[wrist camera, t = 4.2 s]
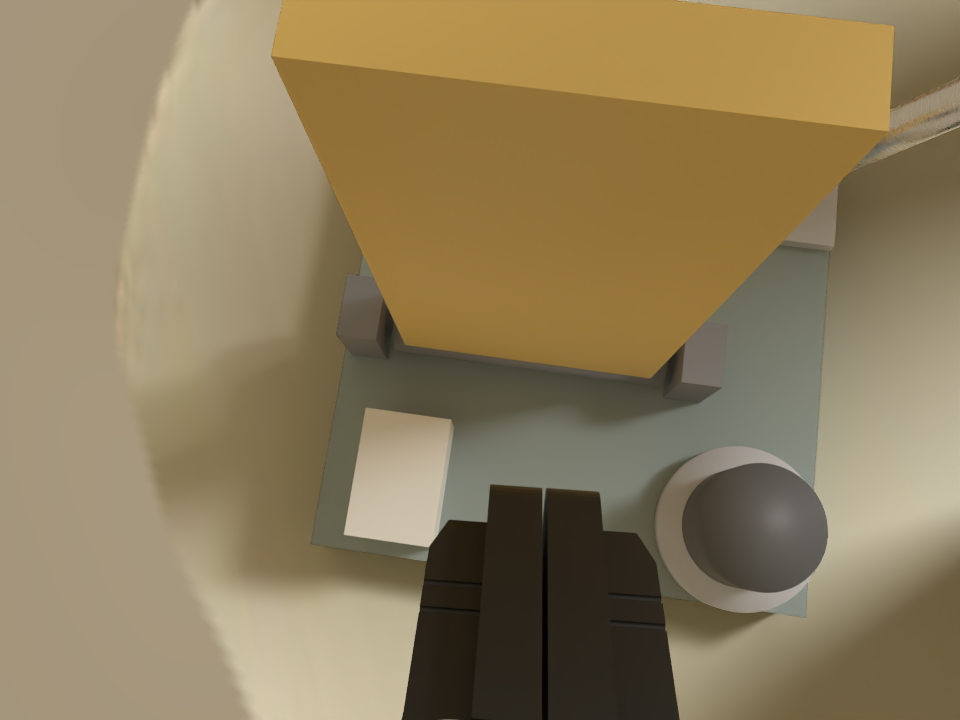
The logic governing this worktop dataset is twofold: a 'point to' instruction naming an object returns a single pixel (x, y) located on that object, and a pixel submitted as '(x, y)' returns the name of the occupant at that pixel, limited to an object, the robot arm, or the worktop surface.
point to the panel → (605, 438)
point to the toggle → (918, 121)
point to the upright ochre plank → (575, 161)
